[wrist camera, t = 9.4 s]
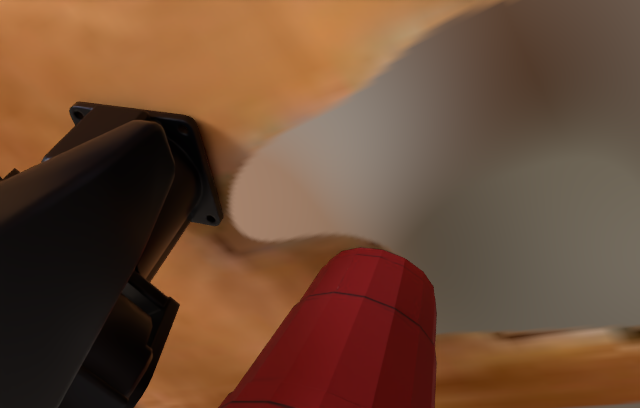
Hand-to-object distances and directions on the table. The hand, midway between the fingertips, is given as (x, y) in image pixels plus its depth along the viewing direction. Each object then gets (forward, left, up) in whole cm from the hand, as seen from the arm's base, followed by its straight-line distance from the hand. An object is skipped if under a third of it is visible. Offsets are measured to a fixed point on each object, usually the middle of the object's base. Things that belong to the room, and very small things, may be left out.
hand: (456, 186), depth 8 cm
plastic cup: (-18, +5, -12) cm, 22 cm away
